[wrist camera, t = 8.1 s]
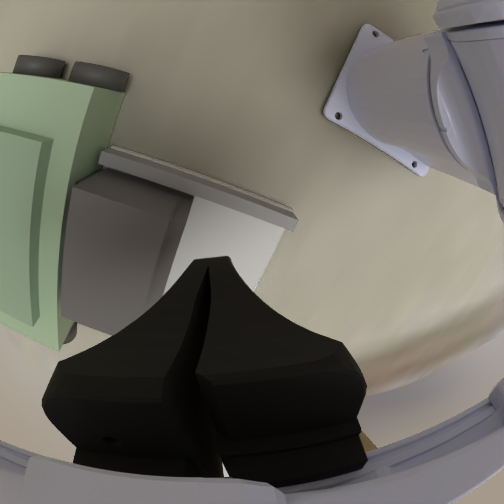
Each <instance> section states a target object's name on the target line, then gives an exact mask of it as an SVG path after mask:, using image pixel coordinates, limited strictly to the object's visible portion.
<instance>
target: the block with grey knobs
mask: <svg viewBox="0 0 504 504" xmlns="http://www.w3.org/2000/svg"><path fill="white" fill-rule="evenodd" d="M64 64H65V61H62V60H57V59H52V58H46V57H39V56H29V55H18V58H17V61H16V64H15V67H14V70H13V73H6V72H0V323H1V324H3V325H5V326H6V327H8V328H10V329H12V330H14V331H16V332H18V333H20V334H22V335H24V336H26V337H28V338H30V339H32V340H34V341H36V342H38V343H41V344H43V345H45V346H47V347H49V348H52V349H54V350H56V351H60V349H61V347H62V345H63V344H67V343H69V342H71V341H72V340H73V339H74V338H75V336H76V333H77V322H75V321H72V320H70V319H67V318H65V317H62V316H61V283H62V265H63V253H64V242H65V233H66V225H67V218H68V211H69V205H70V199H71V193H72V188H73V186H75V185H77V184H78V183H80V182H82V181H84V180H85V179H87V178H89V177H91V176H92V175H94V174H96V173H98V172H100V171H102V166H103V165H104V166H105V168H107V167H109V168H112V169H115V170H118V171H121V172H124V173H128V174H131V175H134V176H137V177H140V178H143V179H146V180H149V181H152V182H155V183H158V184H161V185H164V186H167V187H170V188H173V189H176V190H178V191H181V192H184V193H187V194H190V195H193V196H194V199H193V203H192V206H191V209H190V212H189V216H188V219H187V222H186V226H185V228H184V231H183V234H182V237H181V240H180V243H179V246H178V249H177V252H176V255H175V258H174V261H173V264H172V267H171V271H170V274H169V277H168V280H167V283H166V287H165V290H164V293H163V295H164V294H165V293H166V292H167V291H168V290H169V289H170V288H171V287H172V285H173V284H174V283H175V282H176V281H177V280H178V278H179V277H180V276H181V275H182V273H183V272H184V271H185V270H186V268H187V267H188V266H189V265H190V264H191V262H192V261H193V260H194V259H201V258H211V257H220V256H229V257H230V258H231V261H232V263H233V265H234V267H235V269H236V271H237V272H238V274H239V275H240V276H241V278H242V279H243V280H244V282H245V283H246V284H247V285H248V286H249V288H250V289H251V290H252V291H253V292H254V290H255V288H256V286H257V284H258V282H259V280H260V278H261V276H262V274H263V272H264V270H265V268H266V266H267V264H268V262H269V260H270V258H271V256H272V254H273V252H274V250H275V248H276V246H277V244H278V242H279V240H280V238H281V236H282V234H283V232H284V230H285V229H287V230H290V231H292V232H293V231H294V229H295V227H296V224H297V222H298V219H297V218H296V216H295V215H294V213H293V210H292V208H290V207H287V206H285V205H282V204H280V203H277V202H275V201H272V200H270V199H267V198H264V197H262V196H259V195H257V194H254V193H252V192H249V191H246V190H244V189H241V188H238V187H236V186H233V185H230V184H228V183H225V182H222V181H220V180H217V179H214V178H211V177H209V176H206V175H203V174H200V173H197V172H194V171H192V170H189V169H186V168H183V167H180V166H177V165H174V164H171V163H168V162H165V161H162V160H159V159H156V158H153V157H150V156H147V155H144V154H141V153H138V152H134V151H131V150H128V149H125V148H121V147H118V146H115V145H113V146H111V147H110V148H108V144H109V141H110V138H111V134H112V131H113V128H114V125H115V122H116V119H117V116H118V113H119V110H120V107H121V104H122V102H123V99H124V96H125V94H126V93H125V92H123V90H124V87H125V84H126V82H127V79H128V77H129V73H127V72H124V71H121V70H117V69H113V68H109V67H105V66H101V65H96V64H91V63H85V62H75V63H74V66H73V69H72V71H71V74H70V77H69V80H65V79H60V75H61V72H62V70H63V67H64ZM107 148H108V149H107Z"/></svg>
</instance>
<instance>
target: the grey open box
mask: <svg viewBox="0 0 504 504" xmlns="http://www.w3.org/2000/svg"><path fill="white" fill-rule="evenodd" d="M193 199H194V196H193V195H190V194H187V193H184V192H181V191H178V190H176V189H173V188H170V187H167V186H164V185H161V184H158V183H155V182H152V181H149V180H146V179H143V178H140V177H137V176H134V175H131V174H128V173H124V172H121V171H118V170H115V169H112V168H109V167H107V168H105V169H103V170H102V171H100V172H98V173H96V174H94V175H92V176H91V177H89V178H87V179H85V180H84V181H82V182H80V183H78V184H77V185H75V186H73V188H72V193H71V199H70V205H69V211H68V218H67V225H66V233H65V242H64V253H63V265H62V283H61V316H62V317H65V318H67V319H70V320H72V321H75V322H77V323H80V324H82V325H85V326H87V327H90V328H93V329H95V330H98V331H101V332H104V333H106V334H109V335H112V336H113V335H115V334H116V333H118V332H119V331H121V330H122V329H123V328H125V327H126V326H128V325H129V324H131V323H132V322H133V321H135V320H136V319H138V318H139V317H140V316H141V315H143V314H144V313H145V312H146V311H147V310H149V309H150V308H151V307H152V306H153V305H154V304H155V303H156V302H157V301H158V300H159V299H160V298H161V297H162V296H163V293H164V290H165V287H166V283H167V280H168V277H169V274H170V271H171V267H172V264H173V261H174V258H175V255H176V252H177V249H178V246H179V243H180V240H181V237H182V234H183V231H184V228H185V226H186V222H187V219H188V216H189V212H190V209H191V206H192V203H193Z"/></svg>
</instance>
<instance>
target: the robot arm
mask: <svg viewBox="0 0 504 504" xmlns="http://www.w3.org/2000/svg"><path fill="white" fill-rule="evenodd" d="M437 11H438V12H436V13H434V15H433V17H434V19H435V21H436V23H437V25H438V26H439V28H444V29H441V30H437V31H432V32H428V33H424V34H420V35H416V36H412V37H409V38H405V39H401V40H398V41H394V40H392V39H391V38H390V37H388V36H387V35H385V34H384V33H383V32H381V31H380V30H378V29H377V28H375V27H374V26H372V25H370V24H365V25H363V26H362V27H361V29H360V31H359V33H358V35H357V38H356V40H355V42H354V44H353V46H352V48H351V51H350V53H349V55H348V57H347V59H346V61H345V64H344V66H343V68H342V70H341V72H340V74H339V77H338V79H337V81H336V83H335V85H334V87H333V90H332V92H331V94H330V96H329V98H328V100H327V103H326V105H325V107H324V109H323V115H324V116H325V118H327V119H328V120H330V121H332V122H334V123H336V124H337V125H339V126H341V127H343V128H345V129H346V130H348V131H350V132H352V133H353V134H355V135H357V136H359V137H360V138H362V139H364V140H365V141H367V142H369V143H370V144H372V145H373V146H375V147H377V148H378V149H380V150H381V151H383V152H385V153H386V154H388V155H389V156H391V157H392V158H394V159H395V160H397V161H398V162H400V163H401V164H403V165H404V166H406V167H407V168H408V169H410V170H411V171H413V172H414V173H416V174H417V175H419V176H421V177H424V176H425V175H426V174H427V172H428V170H429V168H430V167H431V168H434V169H436V170H439V171H441V172H444V173H446V174H449V175H451V176H454V177H456V178H459V179H461V180H463V181H466V182H468V183H470V184H473V185H475V186H477V187H480V188H482V189H484V190H486V191H488V192H491V193H493V194H495V195H496V200H497V207H498V212H499V214H500V217H501V219H502V221H503V223H504V0H439V2H438V6H437ZM372 32H374V33H375V34H376V37H374V36H373V34H372ZM337 112H338V113H339V114H340V118H339V119H338V120H337V119H336V118H335V114H336V113H337ZM413 161H414V166H413V167H412V162H413ZM366 388H367V385H366V382H365V379H364V377H363V374H362V372H361V370H360V368H359V366H358V365H357V363H356V362H355V360H354V359H353V357H352V356H351V354H350V353H349V351H348V350H347V348H346V347H345V346H344V344H343V343H342V342H340V341H337V340H334V339H331V338H328V337H325V336H323V335H320V334H317V333H314V332H312V331H310V330H308V329H306V328H303V327H301V326H299V325H297V324H295V323H293V322H292V321H290V320H288V319H287V318H285V317H284V316H282V315H280V314H279V313H277V312H276V311H275V310H273V309H272V308H271V307H269V306H268V305H267V304H266V303H265V302H263V301H262V300H261V299H260V298H259V297H258V296H257V295H256V294H255V293H254V292H253V291H252V290H251V289H250V288H249V286H248V285H247V284H246V283H245V282H244V280H243V279H242V278H241V276H240V275H239V274H238V272H237V271H236V269H235V267H234V265H233V263H232V261H231V258H230V257H229V256H220V257H211V258H201V259H194V260H193V261H192V262H191V264H190V265H189V266H188V267H187V268H186V270H185V271H184V272H183V273H182V275H181V276H180V277H179V278H178V280H177V281H176V282H175V283H174V284H173V285H172V287H171V288H170V289H169V290H168V291H167V292H166V293H165V294H164V295H163V296H162V297H161V298H160V299H159V300H158V301H157V302H156V303H155V304H154V305H153V306H152V307H151V308H150V309H149V310H147V311H146V312H145V313H144V314H143V315H141V316H140V317H139V318H138V319H136V320H135V321H133V322H132V323H131V324H129V325H128V326H126V327H125V328H123V329H122V330H121V331H119V332H118V333H116V334H115V335H113V336H111V337H110V338H108V339H106V340H105V341H103V342H101V343H99V344H97V345H95V346H93V347H91V348H89V349H87V350H85V351H83V352H81V353H78V354H76V355H74V356H72V357H69V358H67V359H65V360H62V361H59V362H58V364H57V366H56V368H55V371H54V373H53V375H52V377H51V379H50V382H49V384H48V386H47V389H46V391H45V393H44V396H43V398H42V407H43V410H44V412H45V414H46V416H47V417H48V419H49V420H50V421H51V422H52V424H53V425H54V426H55V427H56V428H57V429H58V430H59V431H60V432H61V433H62V434H63V435H64V436H65V437H66V438H67V439H68V440H69V441H70V442H72V444H74V445H75V446H76V447H77V448H76V452H75V456H74V460H73V463H69V462H65V461H61V460H58V459H54V458H49V457H45V456H42V455H39V454H36V453H33V452H30V451H27V450H24V449H21V448H18V447H16V446H13V445H11V444H8V443H6V442H3V441H1V440H0V504H452V503H454V502H456V501H458V500H459V499H461V498H462V497H464V496H466V495H467V494H469V493H470V492H471V491H473V490H475V489H476V488H477V487H479V486H480V485H482V484H483V483H485V482H486V481H487V480H489V479H490V478H491V477H493V476H494V475H495V474H497V473H498V472H499V471H501V470H502V469H503V468H504V378H503V379H502V380H501V381H500V382H498V384H497V385H496V386H495V387H494V388H493V390H492V391H491V393H490V394H489V397H488V398H487V399H485V400H483V401H481V402H480V403H478V404H476V405H474V406H473V407H471V408H469V409H467V410H465V411H464V412H462V413H460V414H458V415H456V416H454V417H452V418H451V419H448V420H446V421H444V422H442V423H440V424H438V425H436V426H434V427H431V428H429V429H427V430H425V431H422V432H420V433H418V434H415V435H413V436H410V437H408V438H406V439H403V440H400V441H398V442H395V443H392V444H389V445H387V446H384V447H381V448H378V449H375V450H372V451H368V452H365V450H364V447H363V445H362V442H361V439H360V436H359V434H360V433H361V427H360V424H359V422H358V419H357V415H358V413H359V410H360V408H361V405H362V403H363V400H364V397H365V395H366ZM222 462H223V464H224V466H225V468H226V471H227V473H228V475H229V477H224V474H223V466H222Z"/></svg>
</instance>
